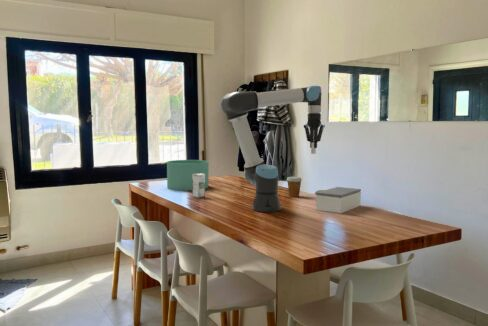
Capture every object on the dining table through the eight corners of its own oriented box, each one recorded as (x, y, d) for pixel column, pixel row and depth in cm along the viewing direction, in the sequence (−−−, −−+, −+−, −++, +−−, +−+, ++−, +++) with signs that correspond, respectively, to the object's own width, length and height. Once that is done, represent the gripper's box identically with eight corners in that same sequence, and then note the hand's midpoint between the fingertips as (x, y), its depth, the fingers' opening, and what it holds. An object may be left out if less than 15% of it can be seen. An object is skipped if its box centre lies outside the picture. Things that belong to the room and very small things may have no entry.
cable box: (340, 213, 210) (340, 197, 210) (316, 209, 219) (316, 194, 218) (360, 205, 231) (360, 191, 230) (337, 202, 239) (337, 189, 239)
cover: (340, 197, 210) (340, 195, 210) (316, 194, 218) (316, 192, 218) (360, 191, 230) (360, 189, 230) (337, 188, 239) (337, 186, 239)
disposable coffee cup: (301, 197, 255) (301, 178, 254) (285, 197, 257) (286, 178, 256) (301, 195, 264) (302, 176, 263) (287, 194, 266) (287, 176, 265)
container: (164, 185, 306) (164, 160, 304) (203, 183, 315) (203, 159, 313) (170, 191, 278) (169, 163, 276) (212, 189, 287) (212, 163, 285)
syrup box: (198, 195, 261) (198, 172, 259) (205, 196, 257) (205, 173, 256) (192, 196, 256) (191, 173, 255) (198, 197, 253) (198, 174, 251)
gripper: (327, 113, 237) (326, 153, 239) (307, 113, 245) (306, 152, 247) (321, 112, 231) (320, 154, 233) (301, 113, 239) (300, 153, 241)
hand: (313, 153), depth 240 cm, fingers closed
